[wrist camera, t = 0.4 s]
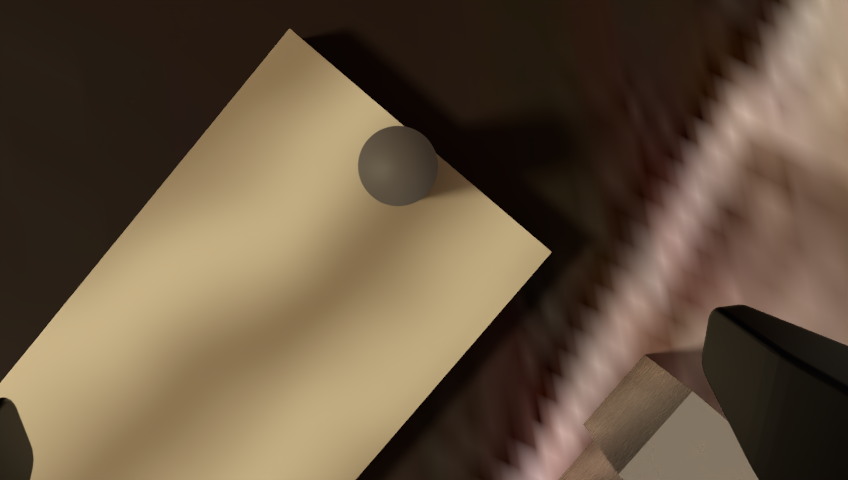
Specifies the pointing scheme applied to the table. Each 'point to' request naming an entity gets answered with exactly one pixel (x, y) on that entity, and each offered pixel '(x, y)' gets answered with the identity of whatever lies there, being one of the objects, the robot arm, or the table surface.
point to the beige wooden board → (272, 297)
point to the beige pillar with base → (658, 434)
